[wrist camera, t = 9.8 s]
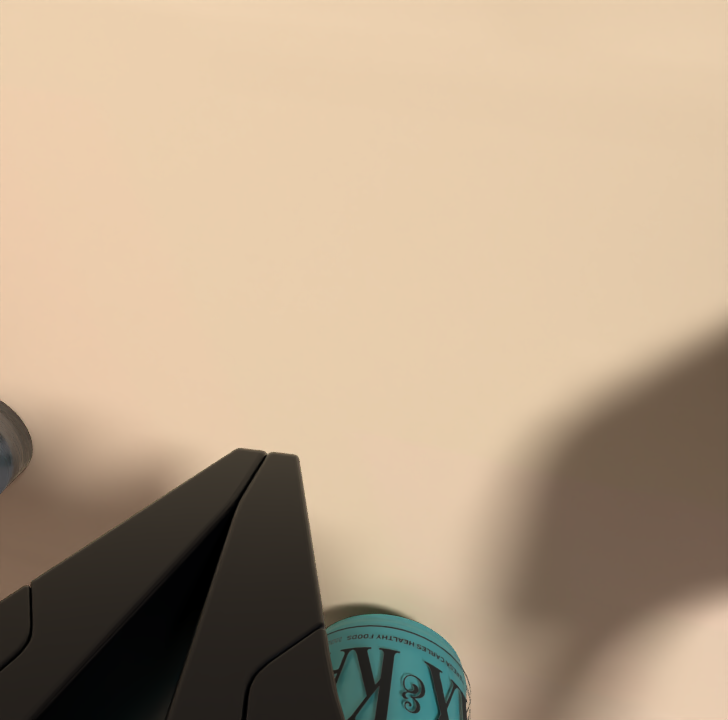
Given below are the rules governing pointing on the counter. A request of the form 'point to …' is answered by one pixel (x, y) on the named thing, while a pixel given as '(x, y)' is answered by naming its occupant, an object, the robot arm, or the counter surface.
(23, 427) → the pivot foot
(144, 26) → the counter surface
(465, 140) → the counter surface
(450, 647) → the beverage bottle
